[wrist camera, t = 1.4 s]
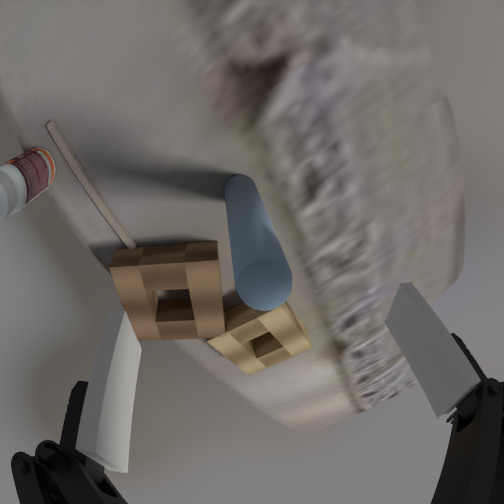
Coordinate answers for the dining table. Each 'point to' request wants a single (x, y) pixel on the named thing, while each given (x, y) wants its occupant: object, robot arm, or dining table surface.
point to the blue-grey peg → (255, 248)
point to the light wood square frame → (261, 337)
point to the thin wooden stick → (89, 185)
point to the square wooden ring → (171, 278)
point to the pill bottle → (24, 179)
